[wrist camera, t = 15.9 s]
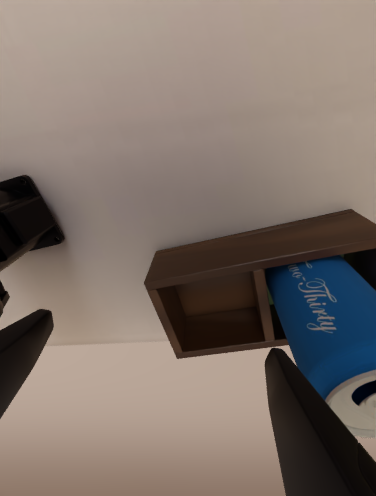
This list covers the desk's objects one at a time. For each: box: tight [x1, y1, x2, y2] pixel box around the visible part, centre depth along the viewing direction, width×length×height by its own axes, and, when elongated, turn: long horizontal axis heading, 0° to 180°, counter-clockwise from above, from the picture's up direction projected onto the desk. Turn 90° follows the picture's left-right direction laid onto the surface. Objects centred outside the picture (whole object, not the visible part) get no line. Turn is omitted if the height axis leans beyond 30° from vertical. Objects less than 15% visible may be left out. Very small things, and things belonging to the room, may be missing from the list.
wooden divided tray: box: [144, 209, 376, 359], centre depth 21 cm, size 9×17×5 cm, turn 105°
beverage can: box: [265, 255, 376, 438], centre depth 16 cm, size 6×6×12 cm
